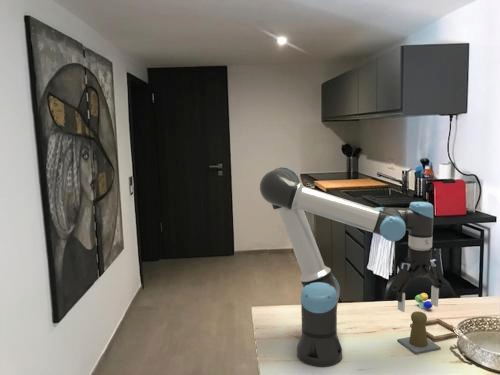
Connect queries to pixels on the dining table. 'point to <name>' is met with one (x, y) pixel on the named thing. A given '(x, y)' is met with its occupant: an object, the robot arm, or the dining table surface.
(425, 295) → the colourful toy
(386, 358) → the dining table surface
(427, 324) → the wooden square frame
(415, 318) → the cork
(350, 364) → the dining table surface
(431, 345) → the slate pad
